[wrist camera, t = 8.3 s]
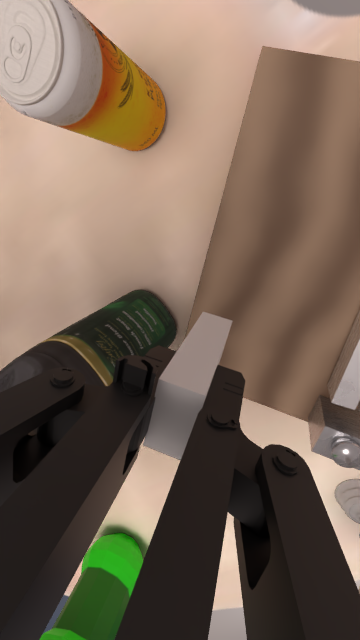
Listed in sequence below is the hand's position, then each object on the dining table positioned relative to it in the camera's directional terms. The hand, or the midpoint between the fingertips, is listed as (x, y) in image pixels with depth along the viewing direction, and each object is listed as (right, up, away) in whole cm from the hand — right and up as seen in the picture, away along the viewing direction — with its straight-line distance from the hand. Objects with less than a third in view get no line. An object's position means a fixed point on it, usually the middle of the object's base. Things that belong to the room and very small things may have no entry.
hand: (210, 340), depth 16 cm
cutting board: (+12, +5, +14) cm, 19 cm away
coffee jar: (-6, 0, +22) cm, 23 cm away
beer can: (-5, +20, +14) cm, 25 cm away
